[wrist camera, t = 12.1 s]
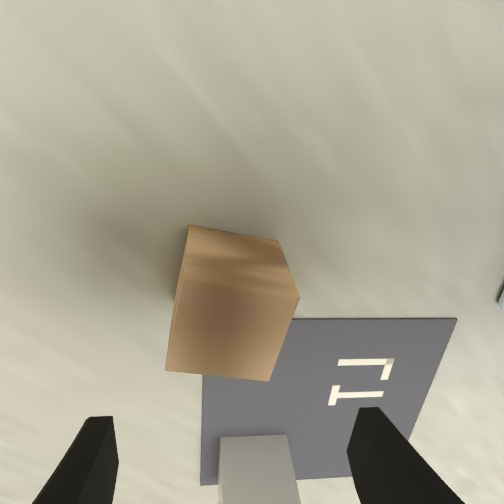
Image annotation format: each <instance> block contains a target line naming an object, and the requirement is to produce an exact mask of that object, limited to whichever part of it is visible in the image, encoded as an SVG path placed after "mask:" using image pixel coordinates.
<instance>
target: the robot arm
mask: <svg viewBox="0 0 504 504" xmlns="http://www.w3.org/2000/svg"><path fill="white" fill-rule="evenodd" d="M499 305H500V306H501V307H502V308H503V309H504V291H503V293H502V295H501V297H500V300H499ZM346 452H347V456H348V460H349V464H350V469H351V473H352V477H353V480H354V484H355V488H356V491H357V494H358V497H359V500H360V502H361V504H465V503H464V502H463V501H462V500H461V499H460V498H459V497H458V496H457V495H456V494H455V493H454V492H453V491H452V490H451V489H450V488H449V487H448V485H447V484H446V483H445V482H444V481H443V480H442V479H441V478H440V477H439V476H438V475H437V473H436V472H435V471H434V470H433V469H432V468H431V467H430V466H429V465H428V464H427V462H426V461H425V460H424V459H423V458H422V457H421V456H420V455H419V453H418V452H417V451H416V450H415V449H414V448H413V446H412V445H411V444H410V443H409V442H408V441H407V440H406V438H405V437H404V436H403V435H402V434H401V432H400V431H399V430H398V429H397V428H396V427H395V425H394V424H393V423H392V422H391V421H390V420H389V418H388V417H387V416H386V415H385V414H384V412H383V411H382V410H381V409H380V408H379V407H360V408H359V411H358V414H357V417H356V421H355V424H354V427H353V431H352V434H351V437H350V441H349V444H348V447H347V451H346ZM118 465H119V460H118V453H117V445H116V438H115V431H114V423H113V416H100V417H89V418H88V419H86V421H85V422H84V424H83V426H82V428H81V429H80V431H79V433H78V434H77V436H76V438H75V440H74V441H73V443H72V444H71V446H70V448H69V449H68V451H67V452H66V454H65V456H64V457H63V459H62V460H61V462H60V463H59V465H58V466H57V468H56V469H55V471H54V472H53V474H52V475H51V477H50V478H49V480H48V481H47V483H46V484H45V486H44V487H43V488H42V490H41V491H40V493H39V494H38V496H37V497H36V499H35V500H34V501H33V503H32V504H112V501H113V495H114V490H115V484H116V477H117V471H118Z"/></svg>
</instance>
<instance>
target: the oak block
mask: <svg viewBox="0 0 504 504" xmlns="http://www.w3.org/2000/svg"><path fill="white" fill-rule="evenodd" d="M299 298H300V297H299V294H298V292H297V289H296V286H295V284H294V281H293V278H292V276H291V273H290V271H289V268H288V265H287V263H286V260H285V258H284V255H283V252H282V250H281V247H280V245H279V242H278V241H273V240H267V239H262V238H257V237H251V236H246V235H241V234H235V233H230V232H225V231H219V230H214V229H209V228H203V227H198V226H193V225H189V228H188V233H187V238H186V243H185V248H184V253H183V259H182V264H181V269H180V274H179V279H178V284H177V289H176V294H175V299H174V306H173V314H172V321H171V329H170V337H169V344H168V352H167V359H166V367H165V370H166V371H175V372H184V373H194V374H203V375H213V376H222V377H232V378H241V379H250V380H260V381H269V380H270V377H271V374H272V371H273V369H274V366H275V363H276V361H277V358H278V355H279V352H280V350H281V347H282V344H283V342H284V339H285V336H286V334H287V331H288V328H289V325H290V323H291V320H292V317H293V315H294V312H295V309H296V306H297V304H298V301H299Z"/></svg>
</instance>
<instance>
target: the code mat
mask: <svg viewBox="0 0 504 504" xmlns="http://www.w3.org/2000/svg"><path fill="white" fill-rule="evenodd" d="M457 320H458V319H457V318H420V319H292V320H291V323H290V325H289V328H288V331H287V334H286V336H285V339H284V342H283V344H282V347H281V350H280V352H279V355H278V358H277V361H276V363H275V366H274V369H273V371H272V374H271V377H270V380H269V381H260V380H250V379H241V378H232V377H222V376H213V375H203V401H202V443H201V485H200V486H203V485H218V471H219V454H220V437H239V436H262V435H285V434H286V435H287V440H288V444H289V449H290V454H291V459H292V464H293V468H294V473H295V478H296V480H303V479H319V478H336V477H352V473H351V469H350V464H349V460H348V456H347V452H346V451H347V447H348V444H349V441H350V437H351V434H352V431H353V427H354V424H355V421H356V417H357V414H358V411H359V408H360V407H379V408H380V409H381V410H382V411H383V412H384V414H385V415H386V416H387V417H388V418H389V420H390V421H391V422H392V423H393V424H394V425H395V427H396V428H397V429H398V430H399V431H400V432H401V434H402V435H403V436H404V437H405V438H406V440H407V441H408V440H409V437H410V435H411V433H412V430H413V428H414V425H415V423H416V420H417V418H418V415H419V413H420V410H421V408H422V406H423V403H424V401H425V398H426V396H427V393H428V391H429V388H430V386H431V384H432V381H433V379H434V376H435V374H436V371H437V369H438V366H439V364H440V361H441V359H442V357H443V354H444V352H445V349H446V347H447V344H448V342H449V339H450V337H451V334H452V332H453V330H454V327H455V325H456V322H457Z"/></svg>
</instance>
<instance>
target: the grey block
mask: <svg viewBox="0 0 504 504" xmlns="http://www.w3.org/2000/svg"><path fill="white" fill-rule="evenodd" d="M218 495H219V504H301V502H300V497H299V492H298V488H297V483H296V478H295V473H294V468H293V464H292V459H291V454H290V449H289V444H288V440H287V435H286V434H285V435H262V436H239V437H220V454H219V471H218Z"/></svg>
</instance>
